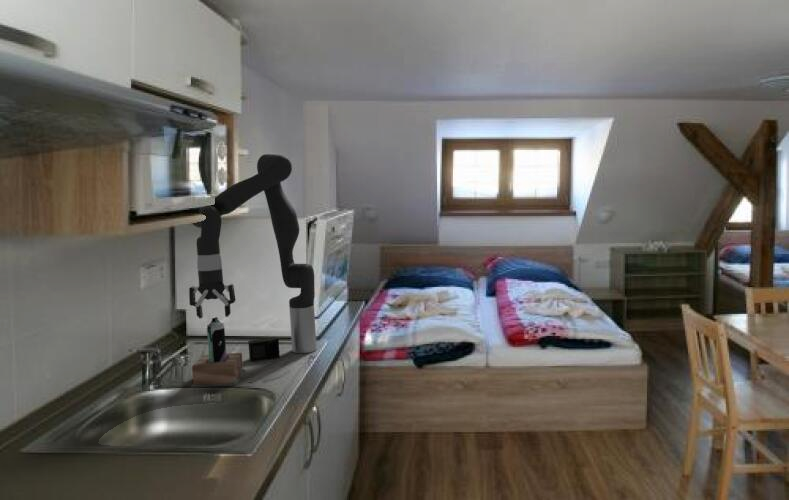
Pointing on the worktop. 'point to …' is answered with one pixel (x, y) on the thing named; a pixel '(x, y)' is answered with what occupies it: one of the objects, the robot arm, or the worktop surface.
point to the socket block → (218, 371)
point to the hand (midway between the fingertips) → (214, 317)
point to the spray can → (216, 341)
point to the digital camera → (264, 349)
